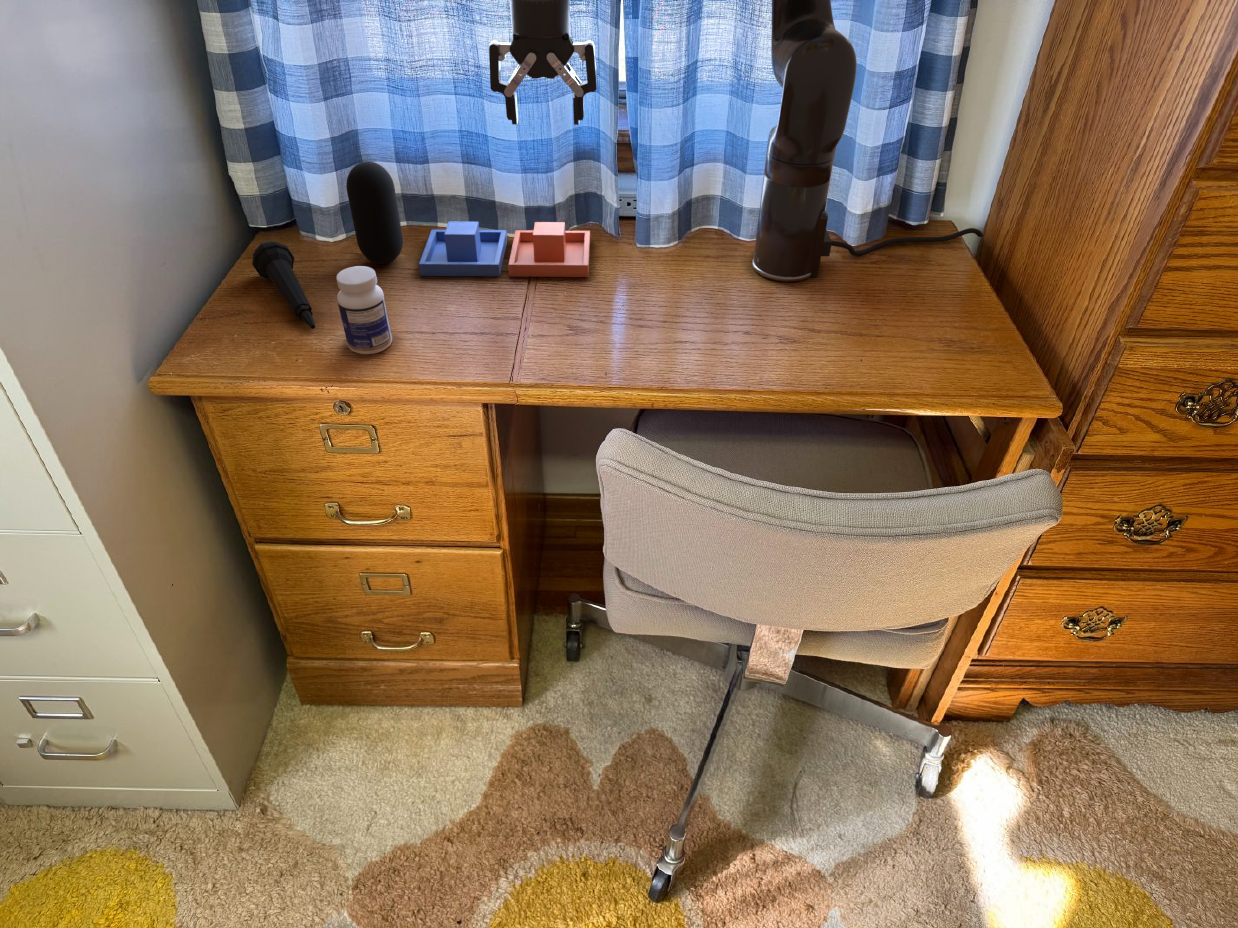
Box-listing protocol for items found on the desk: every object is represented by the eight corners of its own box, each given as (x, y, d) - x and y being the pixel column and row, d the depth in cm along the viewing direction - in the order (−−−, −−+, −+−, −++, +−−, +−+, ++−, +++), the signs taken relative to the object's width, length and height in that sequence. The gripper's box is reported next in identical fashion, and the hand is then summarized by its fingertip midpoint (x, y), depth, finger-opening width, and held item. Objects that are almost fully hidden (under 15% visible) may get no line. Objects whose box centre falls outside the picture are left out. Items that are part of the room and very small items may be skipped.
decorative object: (407, 269, 126) (390, 170, 116) (361, 274, 125) (341, 173, 115) (405, 250, 131) (389, 152, 121) (361, 254, 129) (341, 156, 120)
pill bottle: (351, 333, 112) (336, 264, 106) (395, 331, 112) (382, 262, 106) (344, 357, 108) (328, 286, 101) (390, 355, 108) (376, 285, 102)
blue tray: (507, 241, 133) (506, 230, 132) (499, 276, 125) (498, 264, 123) (433, 240, 133) (431, 229, 132) (420, 275, 124) (418, 264, 123)
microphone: (330, 344, 115) (284, 269, 126) (336, 308, 112) (288, 234, 123) (289, 345, 112) (245, 268, 123) (294, 308, 109) (249, 231, 120)
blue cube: (481, 249, 130) (478, 221, 127) (477, 262, 127) (474, 234, 124) (451, 249, 130) (448, 221, 127) (447, 262, 127) (443, 234, 124)
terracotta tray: (590, 242, 134) (590, 230, 132) (588, 277, 125) (588, 265, 123) (516, 241, 133) (515, 230, 132) (509, 276, 125) (508, 264, 123)
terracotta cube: (565, 249, 130) (564, 222, 128) (564, 263, 127) (563, 235, 124) (536, 249, 130) (534, 222, 128) (534, 263, 127) (532, 235, 124)
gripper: (479, -1, 105) (491, 132, 115) (594, -1, 105) (597, 132, 115) (486, -15, 110) (497, 114, 121) (595, -15, 110) (597, 114, 121)
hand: (546, 123), depth 118 cm, fingers open, 8 cm apart
